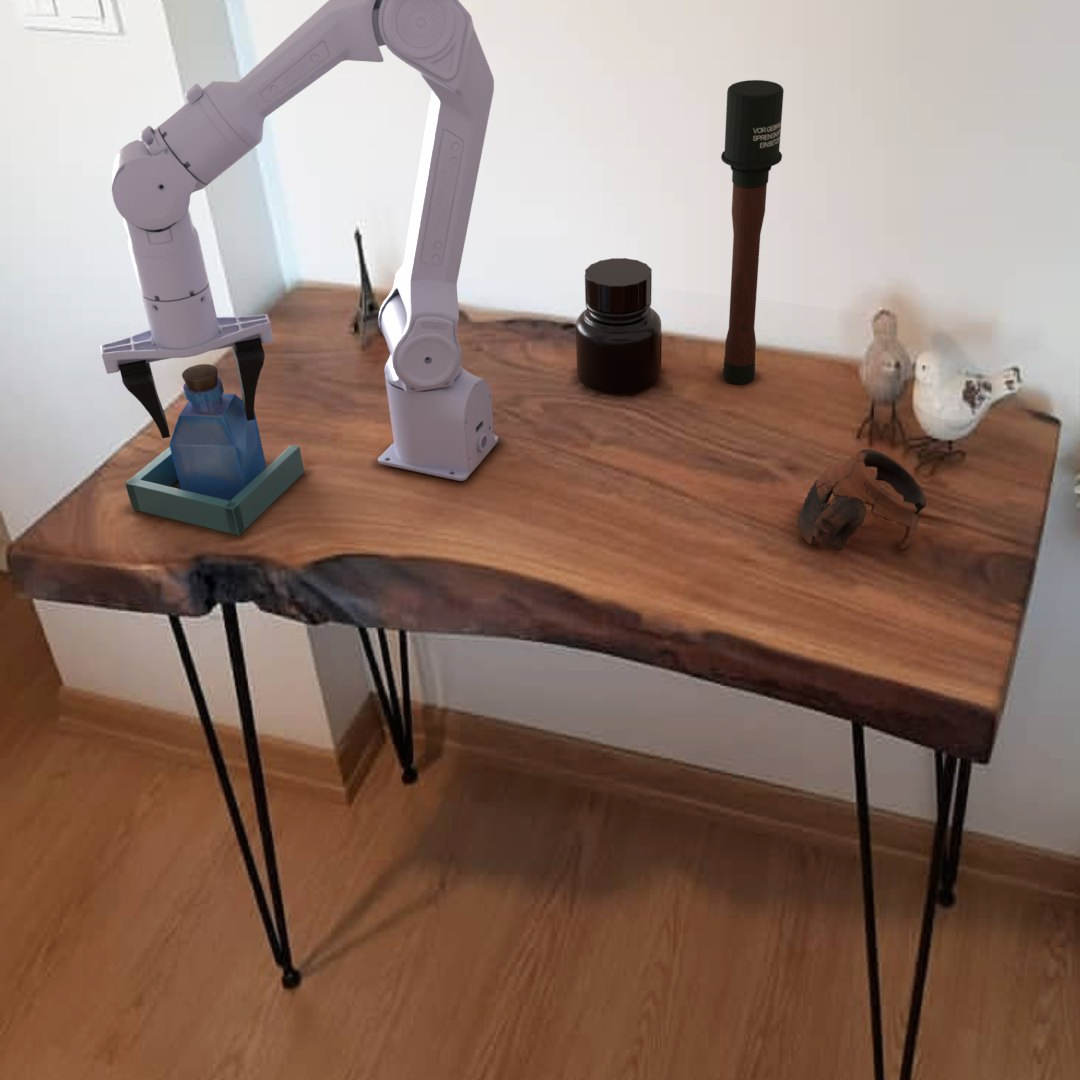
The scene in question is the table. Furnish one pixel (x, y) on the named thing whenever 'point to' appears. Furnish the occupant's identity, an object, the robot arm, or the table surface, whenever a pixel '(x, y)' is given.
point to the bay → (227, 516)
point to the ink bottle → (618, 329)
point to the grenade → (748, 208)
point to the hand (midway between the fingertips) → (207, 423)
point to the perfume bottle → (214, 438)
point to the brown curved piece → (859, 500)
